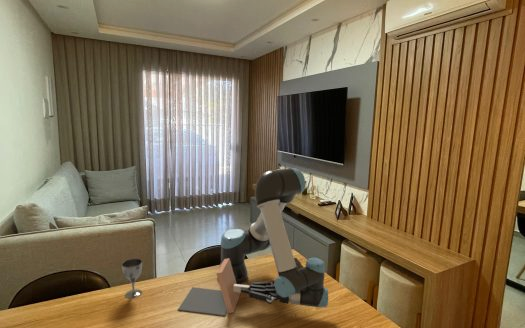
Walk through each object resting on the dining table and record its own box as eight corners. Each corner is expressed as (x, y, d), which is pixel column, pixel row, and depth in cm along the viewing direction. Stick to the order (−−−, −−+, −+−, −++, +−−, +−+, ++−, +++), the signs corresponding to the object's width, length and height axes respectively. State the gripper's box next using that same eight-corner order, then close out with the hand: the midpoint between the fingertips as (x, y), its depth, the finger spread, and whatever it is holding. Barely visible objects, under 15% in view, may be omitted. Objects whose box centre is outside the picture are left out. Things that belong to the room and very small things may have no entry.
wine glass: (147, 290, 134) (145, 260, 131) (134, 301, 126) (132, 268, 124) (133, 287, 136) (131, 257, 134) (119, 296, 129) (117, 265, 126)
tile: (234, 295, 132) (224, 259, 130) (239, 295, 132) (229, 258, 129) (227, 313, 120) (216, 273, 118) (233, 312, 120) (221, 272, 118)
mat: (192, 288, 137) (192, 287, 137) (234, 292, 134) (234, 291, 134) (177, 310, 121) (177, 309, 121) (224, 316, 119) (224, 315, 118)
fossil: (304, 281, 145) (295, 263, 144) (287, 286, 147) (279, 269, 146) (306, 269, 155) (298, 252, 154) (290, 274, 158) (282, 258, 157)
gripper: (288, 312, 115) (229, 305, 118) (289, 292, 128) (236, 287, 131) (289, 295, 114) (230, 288, 117) (290, 276, 127) (237, 271, 130)
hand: (233, 287), depth 124 cm, fingers closed
